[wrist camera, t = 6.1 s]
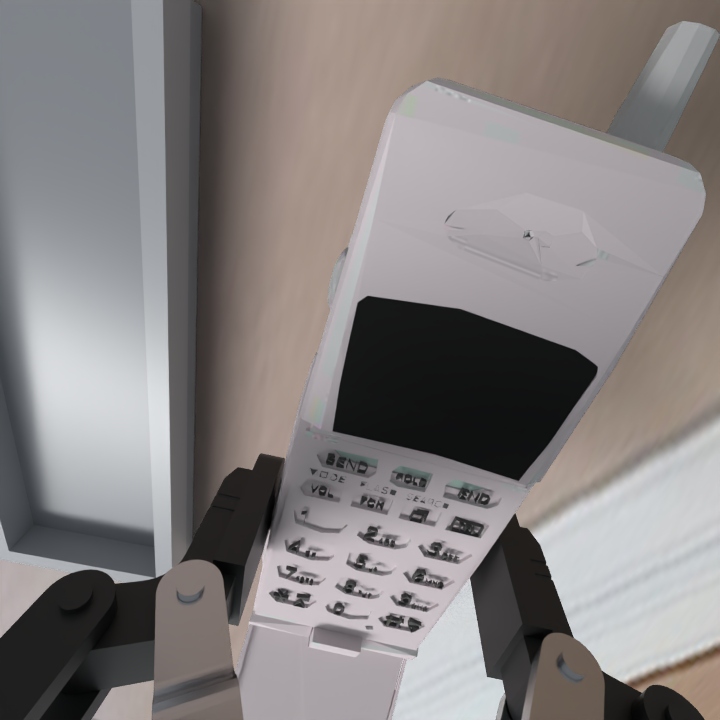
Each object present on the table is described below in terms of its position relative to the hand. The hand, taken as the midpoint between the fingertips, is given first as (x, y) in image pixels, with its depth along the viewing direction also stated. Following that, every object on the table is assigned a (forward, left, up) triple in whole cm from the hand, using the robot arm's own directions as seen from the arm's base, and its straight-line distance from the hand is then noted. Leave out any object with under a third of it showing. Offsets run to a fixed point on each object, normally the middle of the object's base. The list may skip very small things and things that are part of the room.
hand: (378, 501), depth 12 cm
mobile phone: (0, 0, -1) cm, 1 cm away
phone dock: (+2, -15, -10) cm, 18 cm away
